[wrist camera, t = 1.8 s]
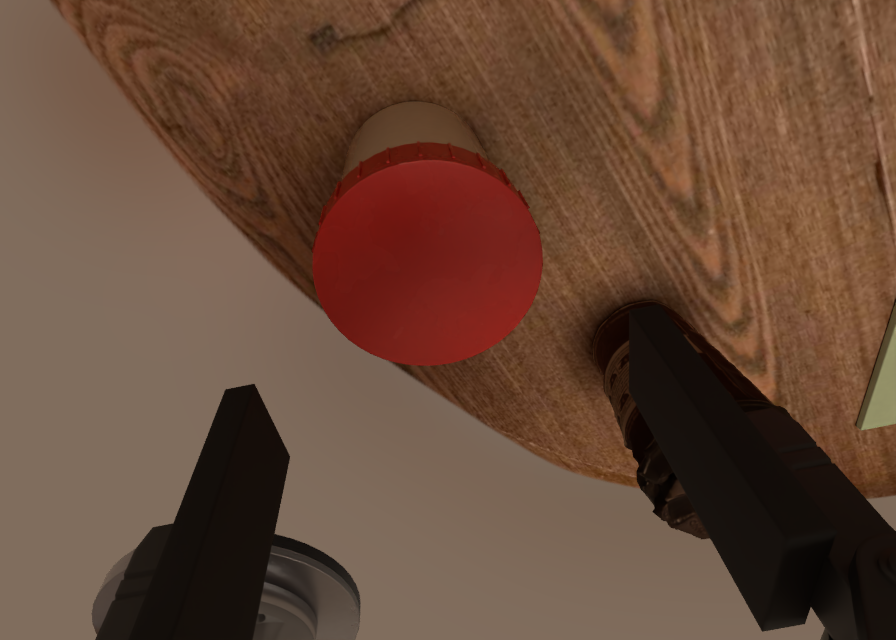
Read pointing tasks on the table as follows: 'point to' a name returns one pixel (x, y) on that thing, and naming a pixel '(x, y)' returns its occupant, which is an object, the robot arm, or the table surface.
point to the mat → (882, 385)
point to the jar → (410, 131)
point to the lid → (426, 255)
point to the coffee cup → (636, 433)
